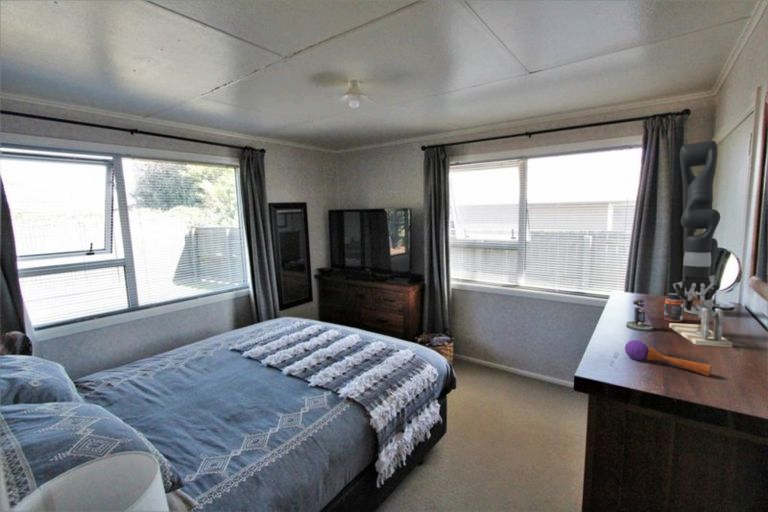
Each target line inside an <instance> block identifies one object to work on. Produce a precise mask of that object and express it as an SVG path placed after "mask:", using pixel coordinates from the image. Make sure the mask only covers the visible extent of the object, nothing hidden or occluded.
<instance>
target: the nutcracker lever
mask: <svg viewBox="0 0 768 512" xmlns="http://www.w3.org/2000/svg"><path fill="white" fill-rule="evenodd" d="M691 301H692V307H693V308H697V309H698V310H699V315H698V318H699V319H700V320H702V308H706V309H708V310H710V318H715V317H718V313H715V310H713V309H712V310H711V309H710V308H708V307H707V306H705V305H704V304H703V302H702V301H701V300H699V299H698V298H696V297H695V296H692V299H691Z"/></svg>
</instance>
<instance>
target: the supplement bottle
mask: <svg viewBox="0 0 768 512" xmlns="http://www.w3.org/2000/svg"><path fill="white" fill-rule="evenodd" d="M667 296H668V297H667V298H665V299H664V300H665V301H664V312H663V313H664V314H663V319H664V320H665V321H667V322H670V323H680V322H682V321H683V316H684V313H683V312H684V299H682V298H680V297H679V296H678V294H677V292H669V293H668V295H667Z"/></svg>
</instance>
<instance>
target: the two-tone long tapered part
mask: <svg viewBox="0 0 768 512" xmlns="http://www.w3.org/2000/svg"><path fill="white" fill-rule="evenodd" d="M624 351H625V353H626V355H627V356H628V357H629V358H630V359H632V360H636V361H642V360H645V359H646V360H647V361H660V360H661V361H662V360H663V361H666V362H669V363H671V364H673V365H677V366H679V367H682V368H684V369H687V370H688V371H689V370H690V371H693V372H695V373H697V374H700V375H702V376H705V377H709V376H710V374H711V370H712V364H708V363H701V362H697V361H691V360H686V359H682V358H677V357H676V358H675V357H671V356H666V355H663V354H662V353H661V352H659V351H658V350H656V349H655V348H653V347H652V346H650V347H648V346H647V344H645V342H644V341H641V340H638V339H634V340H633V339H632V340H630V341H628V342H627V343H626V344H625V346H624Z"/></svg>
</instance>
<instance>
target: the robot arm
mask: <svg viewBox="0 0 768 512" xmlns="http://www.w3.org/2000/svg"><path fill="white" fill-rule="evenodd" d="M718 151H719V149H718V144H717V142H716V141H715V140H712V139H711V140H705V141H698V142H694V143H693V142H692V143H687V144H683V145H682V146H681V147H680V151H679V161H680V170H681V177H682V180H681V181H682V209H683V210H682V211H683V212H682V214H681V217H680V224H681V226H682V227H683V228H684V230H683V231H684V232H683V254H684V256H683V264H682V265H683V266H682V277H681V278H682V279H680V281H679V282H675V283H674V282H673V283H672V286H673V288H674V290H675V293H677V294H678V296H679V297H680V298H681V299H682V300H684V302H683V312H685V313H689V314H692V315H698V316H699V310H698V309H697V308H693V307H692V301H691V299H692V296H695V297H696V298H698V299H699V300H701V301H702V302H703V304H704V305H705V306H707V307H708V308H710V309H711V310H712V311H713V301H714V300H713V299H714V296H715V294H716V293H717V291H718V290H719V289H720V286H719V285H717V284H715V273H716V263H717V262H716V261H717V254H718V248H719V246H718V245H719V244H718V241H717V239H716V238H714V234H715V231H716V230H717V228H718V225H719V223H720V220H721V214H720V212H719V211H718V210H717V209H713V201H714V196H713V195H714V194H713V193H714V179H715V175H716V171H717V170H716V169H717V163H718V156H719V155H718V153H719V152H718ZM701 166H704V168H703V169H702V170H701V171H700V172H699V174H698V175H696V174H695V173H694V172H693V167H695V168H696V167H701ZM697 230H704V231H703V232H702V233H700V234H695V233H696V232H697ZM683 287H684V289H685V290H684V291H683V289H682V288H683Z"/></svg>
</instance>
